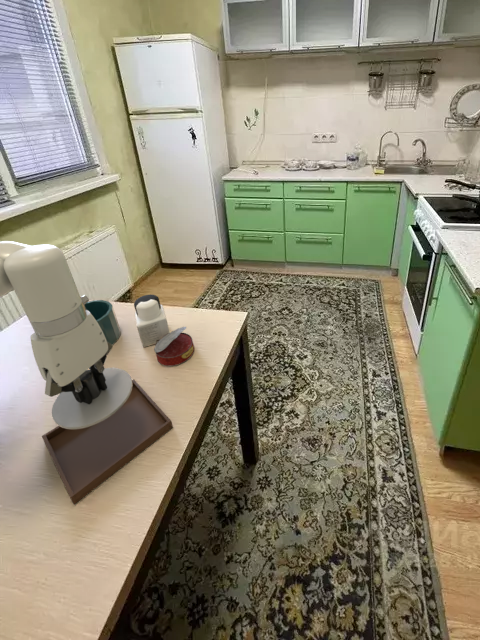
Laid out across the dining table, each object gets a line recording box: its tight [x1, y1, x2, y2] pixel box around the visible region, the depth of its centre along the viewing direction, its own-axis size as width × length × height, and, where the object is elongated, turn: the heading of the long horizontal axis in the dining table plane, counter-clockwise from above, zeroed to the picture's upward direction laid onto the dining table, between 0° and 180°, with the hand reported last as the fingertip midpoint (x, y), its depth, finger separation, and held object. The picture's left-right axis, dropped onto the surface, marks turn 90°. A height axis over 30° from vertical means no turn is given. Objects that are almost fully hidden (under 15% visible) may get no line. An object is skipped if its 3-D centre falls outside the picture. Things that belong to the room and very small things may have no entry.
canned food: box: [153, 326, 195, 367], centre depth 87 cm, size 11×10×10 cm
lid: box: [51, 367, 133, 429], centre depth 61 cm, size 14×14×6 cm
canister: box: [85, 299, 122, 346], centre depth 93 cm, size 13×13×10 cm
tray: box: [41, 378, 174, 505], centre depth 67 cm, size 19×17×2 cm
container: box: [133, 294, 171, 348], centre depth 93 cm, size 8×8×13 cm
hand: (92, 393), depth 62 cm, fingers closed on lid, 2 cm apart
